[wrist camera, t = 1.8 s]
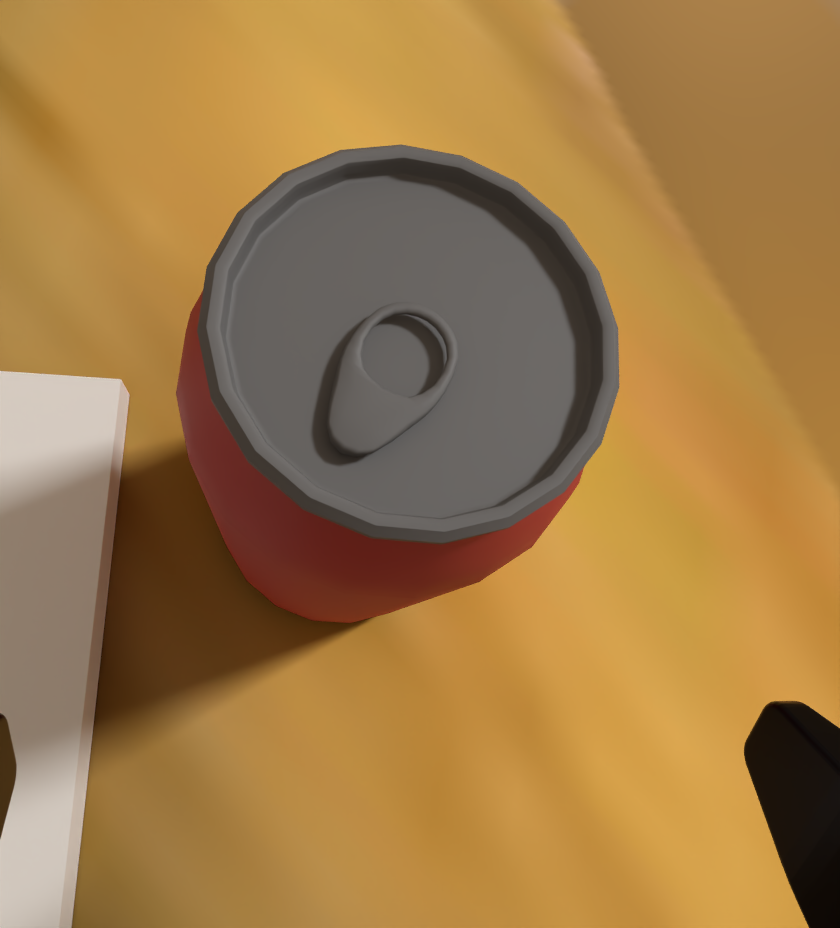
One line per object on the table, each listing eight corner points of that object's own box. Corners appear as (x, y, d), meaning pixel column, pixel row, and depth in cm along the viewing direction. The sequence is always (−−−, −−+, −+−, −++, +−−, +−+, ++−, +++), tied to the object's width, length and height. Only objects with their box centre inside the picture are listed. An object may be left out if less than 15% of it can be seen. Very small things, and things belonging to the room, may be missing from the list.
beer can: (172, 543, 19) (28, 388, 8) (304, 358, 21) (340, 26, 10) (378, 669, 20) (524, 693, 8) (489, 474, 22) (728, 277, 10)
